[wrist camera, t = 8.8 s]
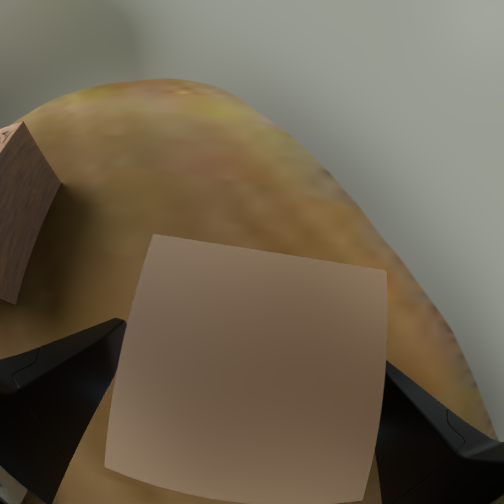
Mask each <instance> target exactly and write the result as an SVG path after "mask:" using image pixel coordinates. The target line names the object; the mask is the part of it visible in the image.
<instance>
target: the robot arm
mask: <svg viewBox="0 0 504 504" xmlns="http://www.w3.org/2000/svg"><path fill="white" fill-rule="evenodd" d="M126 327H127V324H126V321H125V320H122V319H118V318H114V319H111V320H109V321H106V322H103V323H101V324H98V325H96V326H93V327H91V328H88V329H85V330H83V331H80V332H78V333H75V334H72V335H70V336H67V337H65V338H62V339H59V340H57V341H54V342H52V343H49V344H46V345H44V346H41V347H38V348H36V349H33V350H30V351H27V352H25V353H22V354H19V355H15V356H12V357H8V358H5V359H1V360H0V504H26V503H25V501H24V496H25V495H26V493H27V491H29V492H30V493H31V494H33V495H34V496H36V497H37V498H38V499H40V500H41V501H43V502H44V503H46V504H52V503H53V500H54V498H55V495H56V493H57V491H58V488H59V486H60V484H61V481H62V479H63V477H64V475H65V472H66V470H67V468H68V466H69V463H70V461H71V459H72V457H73V455H74V453H75V451H76V449H77V447H78V444H79V442H80V440H81V438H82V436H83V434H84V432H85V430H86V428H87V426H88V424H89V422H90V420H91V419H92V417H93V415H94V413H95V411H96V409H97V407H98V405H99V403H100V401H101V400H102V398H103V396H104V394H105V392H106V390H107V388H108V387H109V385H110V383H111V381H112V379H113V377H114V375H115V373H116V371H117V368H118V363H119V358H120V353H121V348H122V344H123V339H124V335H125V331H126ZM375 454H376V460H377V467H378V474H379V482H380V490H381V499H382V504H504V442H499V441H495V440H493V439H491V438H490V437H488V436H487V435H485V434H483V433H482V432H480V431H479V430H477V429H476V428H474V427H473V426H471V425H470V424H468V423H467V422H465V421H464V420H462V419H461V418H460V417H458V416H457V415H456V414H454V413H453V412H452V411H450V410H449V409H447V408H446V407H445V406H444V405H443V404H442V403H440V402H439V401H438V400H436V399H435V398H434V397H433V396H431V395H430V394H429V393H428V392H426V391H425V390H424V389H422V388H421V387H420V386H419V385H417V384H416V383H415V382H414V381H412V380H411V379H410V378H408V377H407V376H406V375H405V374H403V373H402V372H401V371H400V370H398V369H397V368H396V367H395V366H393V365H392V364H391V363H389V362H388V361H387V360H386V369H385V381H384V391H383V400H382V408H381V415H380V422H379V429H378V435H377V440H376V446H375Z"/></svg>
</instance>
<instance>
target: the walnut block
mask: <svg viewBox="0 0 504 504" xmlns="http://www.w3.org/2000/svg"><path fill="white" fill-rule="evenodd" d="M387 320H388V306H387V273H386V270H380V269H374V268H368V267H362V266H355V265H349V264H343V263H336V262H330V261H324V260H318V259H311V258H305V257H298V256H292V255H286V254H279V253H273V252H267V251H260V250H254V249H247V248H241V247H235V246H228V245H222V244H215V243H209V242H202V241H196V240H189V239H183V238H176V237H170V236H163V235H157V234H153V237H152V240H151V243H150V246H149V249H148V252H147V255H146V258H145V262H144V265H143V268H142V271H141V275H140V278H139V281H138V285H137V288H136V292H135V296H134V299H133V303H132V307H131V311H130V314H129V318H128V322H127V327H126V331H125V335H124V339H123V344H122V348H121V353H120V358H119V363H118V368H117V373H116V378H115V384H114V390H113V396H112V402H111V409H110V416H109V424H108V433H107V442H106V453H105V467H106V468H108V469H111V470H113V471H116V472H118V473H121V474H123V475H126V476H129V477H131V478H134V479H137V480H140V481H143V482H146V483H149V484H152V485H156V486H159V487H162V488H166V489H170V490H173V491H177V492H182V493H186V494H190V495H195V496H200V497H205V498H210V499H216V500H223V501H230V502H238V503H247V504H336V503H346V502H354V501H361V500H363V496H364V493H365V489H366V485H367V482H368V478H369V473H370V469H371V465H372V460H373V456H374V451H375V446H376V440H377V435H378V429H379V422H380V415H381V408H382V400H383V391H384V381H385V369H386V353H387Z"/></svg>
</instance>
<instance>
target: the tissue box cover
mask: <svg viewBox="0 0 504 504" xmlns="http://www.w3.org/2000/svg"><path fill="white" fill-rule="evenodd" d="M60 185H61V181H60V180H59V178H58V177H57V175H56V174H55V172H54V171H53V169H52V168H51V166H50V165H49V163H48V162H47V160H46V159H45V157H44V155H43V154H42V152H41V151H40V149H39V147H38V146H37V144H36V142H35V141H34V139H33V137H32V136H31V134H30V132H29V130H28V129H27V127H26V125H25V123H24V121H22V122H19V123H16V124H12V125H9V126H7V127H3V128H0V299H1V300H4V301H6V302H9V303H12V304H14V305H16V303H17V299H18V295H19V291H20V287H21V284H22V280H23V277H24V274H25V270H26V267H27V264H28V261H29V258H30V255H31V252H32V249H33V247H34V244H35V241H36V239H37V236H38V234H39V231H40V229H41V226H42V224H43V221H44V219H45V217H46V214H47V212H48V210H49V208H50V205H51V203H52V201H53V199H54V197H55V195H56V193H57V191H58V189H59V187H60Z"/></svg>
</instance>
